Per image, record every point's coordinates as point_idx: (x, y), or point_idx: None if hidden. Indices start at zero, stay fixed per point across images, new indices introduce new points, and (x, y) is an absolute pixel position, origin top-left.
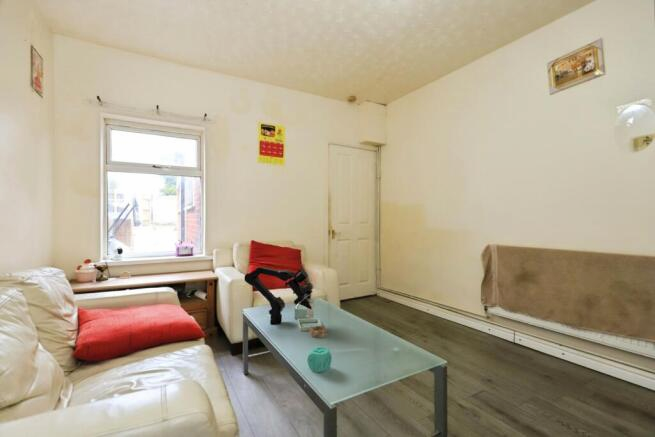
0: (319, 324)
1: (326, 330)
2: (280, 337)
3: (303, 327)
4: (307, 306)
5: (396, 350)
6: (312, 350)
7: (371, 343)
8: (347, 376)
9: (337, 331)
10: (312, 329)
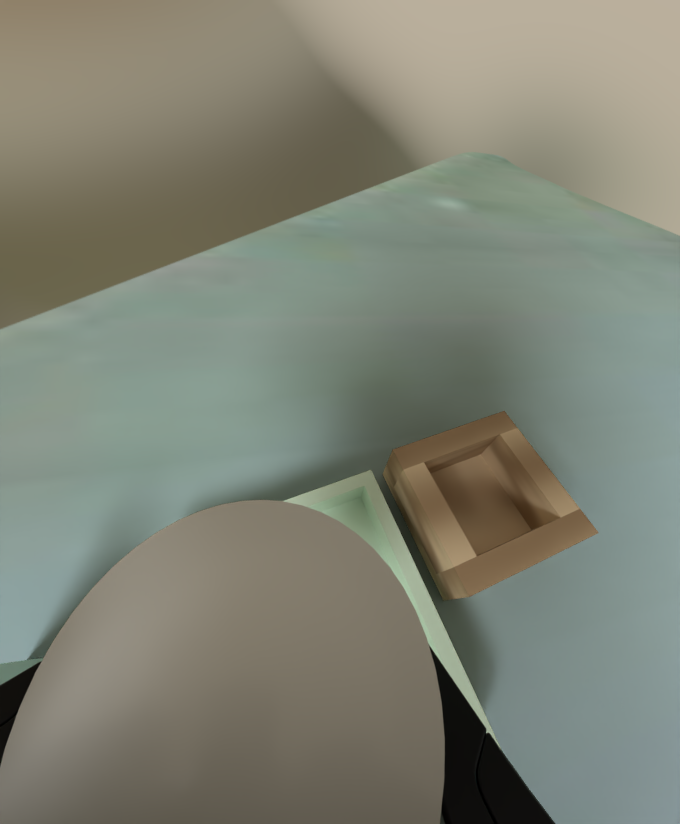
0: None
1: (495, 415)
2: None
3: (474, 693)
4: None
5: (462, 204)
6: None
7: (439, 254)
8: None
9: (338, 386)
10: (543, 542)
